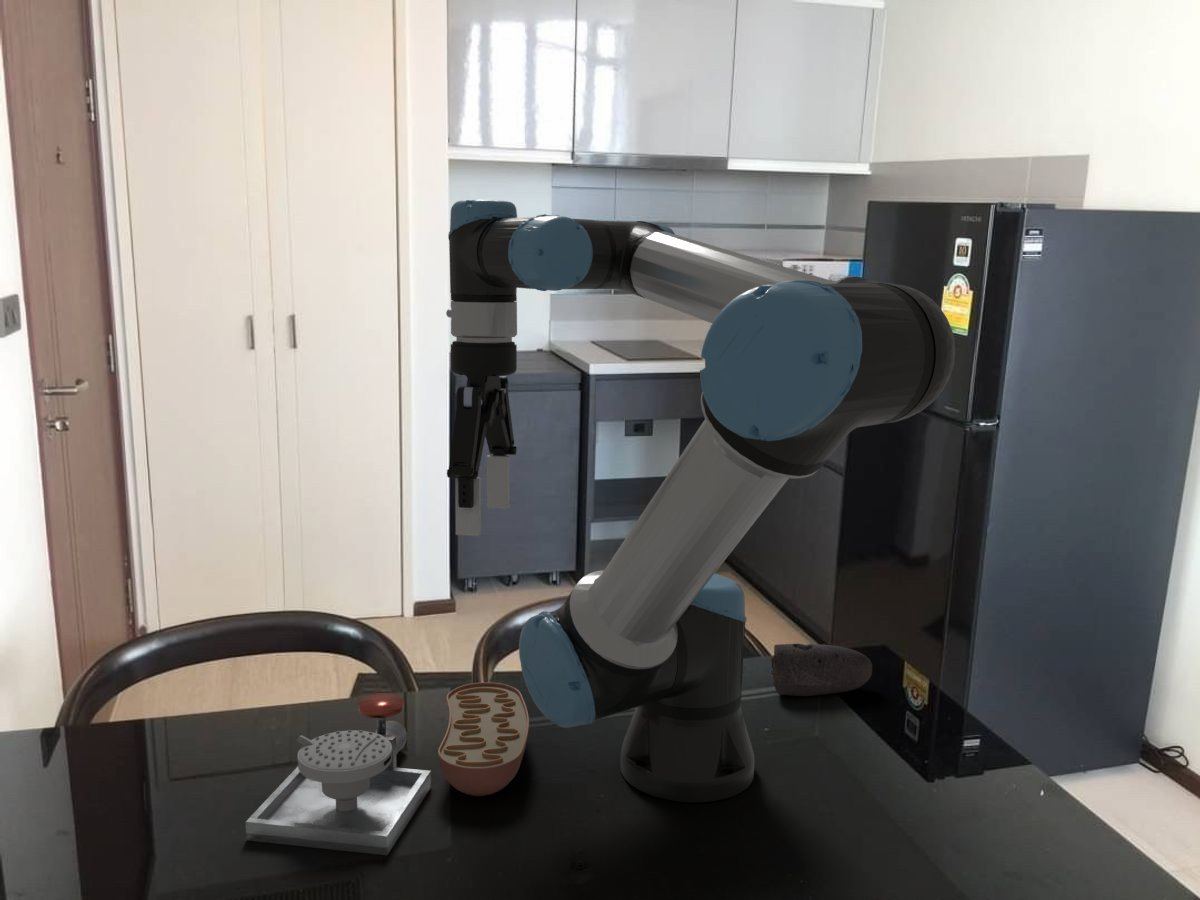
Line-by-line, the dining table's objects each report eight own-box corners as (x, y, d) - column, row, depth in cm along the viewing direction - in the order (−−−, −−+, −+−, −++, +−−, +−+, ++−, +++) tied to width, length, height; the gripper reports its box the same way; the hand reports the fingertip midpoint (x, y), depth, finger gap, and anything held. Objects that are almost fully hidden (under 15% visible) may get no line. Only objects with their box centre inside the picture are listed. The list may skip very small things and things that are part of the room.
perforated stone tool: (863, 683, 145) (866, 635, 144) (879, 698, 140) (882, 649, 139) (760, 687, 143) (762, 639, 142) (771, 703, 138) (774, 653, 137)
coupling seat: (387, 855, 100) (385, 784, 99) (246, 840, 103) (243, 770, 101) (452, 754, 121) (451, 694, 120) (334, 744, 124) (332, 685, 122)
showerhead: (318, 717, 112) (405, 726, 110) (320, 779, 113) (406, 790, 111) (274, 755, 103) (369, 766, 101) (277, 823, 104) (370, 835, 102)
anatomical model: (448, 719, 131) (448, 682, 130) (527, 718, 132) (527, 681, 131) (435, 813, 109) (434, 768, 108) (530, 811, 110) (530, 766, 109)
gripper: (480, 332, 132) (480, 496, 135) (417, 346, 107) (419, 545, 111) (538, 333, 130) (537, 499, 134) (487, 348, 106) (488, 549, 110)
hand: (484, 520), depth 122 cm, fingers open, 13 cm apart
